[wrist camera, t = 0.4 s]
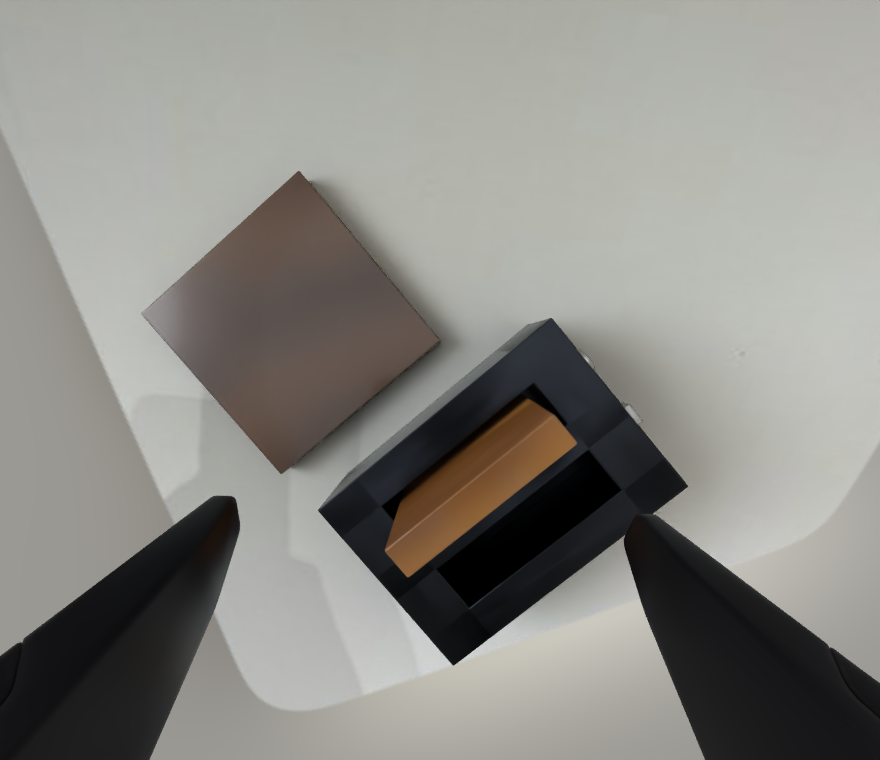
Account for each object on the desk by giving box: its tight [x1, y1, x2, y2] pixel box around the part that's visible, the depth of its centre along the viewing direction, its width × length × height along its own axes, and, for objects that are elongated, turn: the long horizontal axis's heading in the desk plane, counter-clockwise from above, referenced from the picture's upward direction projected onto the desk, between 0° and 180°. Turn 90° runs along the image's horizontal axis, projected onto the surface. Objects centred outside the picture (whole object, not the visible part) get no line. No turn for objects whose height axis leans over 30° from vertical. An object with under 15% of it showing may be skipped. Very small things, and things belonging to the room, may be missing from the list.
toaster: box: [318, 318, 688, 666], centre depth 21 cm, size 10×15×6 cm, turn 130°
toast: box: [385, 394, 577, 577], centre depth 19 cm, size 1×8×8 cm, turn 130°
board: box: [142, 171, 440, 474], centre depth 23 cm, size 12×12×1 cm
